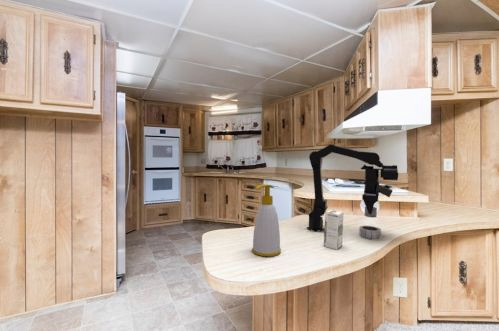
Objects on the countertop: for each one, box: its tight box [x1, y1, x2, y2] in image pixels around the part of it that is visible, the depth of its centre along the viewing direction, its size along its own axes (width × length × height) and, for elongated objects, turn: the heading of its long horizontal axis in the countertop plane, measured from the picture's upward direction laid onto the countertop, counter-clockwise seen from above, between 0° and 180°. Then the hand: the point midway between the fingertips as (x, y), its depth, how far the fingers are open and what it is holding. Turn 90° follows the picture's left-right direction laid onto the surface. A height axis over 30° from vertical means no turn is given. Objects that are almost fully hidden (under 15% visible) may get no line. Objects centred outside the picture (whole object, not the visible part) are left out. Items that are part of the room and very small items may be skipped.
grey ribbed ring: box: [358, 225, 382, 241], centre depth 113 cm, size 9×9×4 cm
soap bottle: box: [251, 183, 282, 257], centre depth 94 cm, size 11×12×26 cm
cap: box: [364, 206, 378, 218], centre depth 112 cm, size 5×5×4 cm
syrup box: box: [323, 209, 344, 250], centre depth 100 cm, size 6×6×14 cm
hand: (370, 212), depth 113 cm, fingers closed on cap, 5 cm apart
